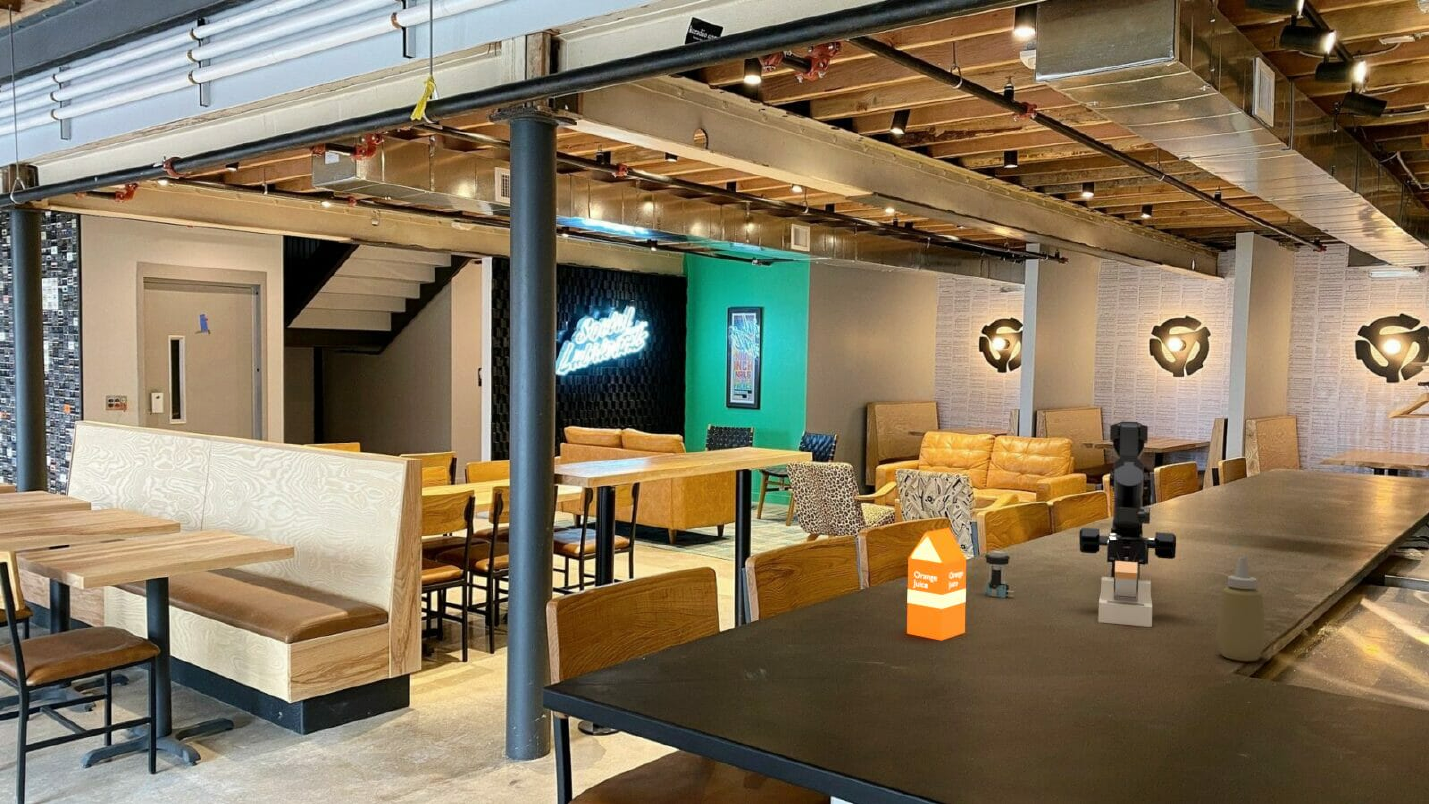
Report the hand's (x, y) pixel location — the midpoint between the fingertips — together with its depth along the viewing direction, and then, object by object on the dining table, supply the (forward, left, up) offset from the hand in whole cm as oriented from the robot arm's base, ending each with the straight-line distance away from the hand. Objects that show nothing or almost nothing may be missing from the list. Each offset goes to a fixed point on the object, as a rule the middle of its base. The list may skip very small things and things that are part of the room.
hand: (1126, 576), depth 215 cm
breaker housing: (-1, -1, -9) cm, 9 cm away
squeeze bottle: (+7, +29, -9) cm, 31 cm away
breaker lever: (-1, -1, -3) cm, 4 cm away
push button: (+4, -29, -9) cm, 31 cm away
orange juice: (+41, -12, -9) cm, 44 cm away
